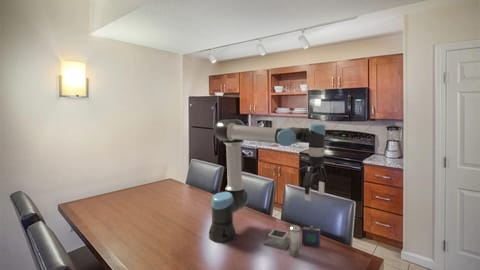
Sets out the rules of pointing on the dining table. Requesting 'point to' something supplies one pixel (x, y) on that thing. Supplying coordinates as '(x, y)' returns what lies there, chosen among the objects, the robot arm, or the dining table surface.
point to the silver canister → (294, 240)
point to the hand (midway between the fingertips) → (314, 197)
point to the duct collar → (278, 239)
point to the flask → (310, 237)
